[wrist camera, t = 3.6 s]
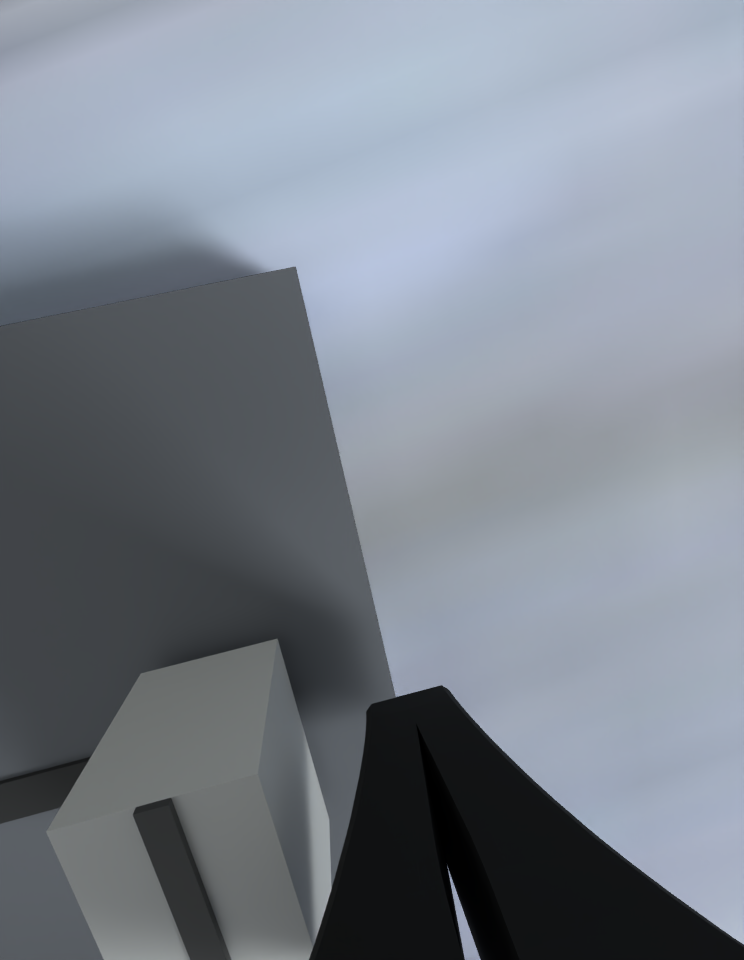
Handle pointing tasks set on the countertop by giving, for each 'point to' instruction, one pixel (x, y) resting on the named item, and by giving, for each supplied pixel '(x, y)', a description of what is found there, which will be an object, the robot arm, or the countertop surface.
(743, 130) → the countertop surface
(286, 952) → the fader
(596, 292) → the countertop surface
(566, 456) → the countertop surface
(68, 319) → the panel
